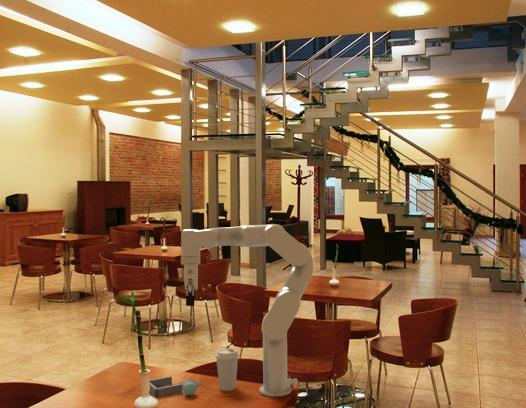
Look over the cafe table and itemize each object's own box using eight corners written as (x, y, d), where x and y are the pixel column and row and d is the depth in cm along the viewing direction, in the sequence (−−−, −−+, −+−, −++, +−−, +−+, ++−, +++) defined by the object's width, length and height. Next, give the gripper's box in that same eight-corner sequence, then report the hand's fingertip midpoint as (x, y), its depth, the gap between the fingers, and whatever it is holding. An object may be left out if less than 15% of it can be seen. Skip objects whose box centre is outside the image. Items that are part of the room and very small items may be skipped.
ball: (193, 392, 214) (192, 379, 214) (198, 395, 210) (198, 382, 210) (181, 394, 212) (181, 381, 212) (186, 398, 207) (186, 385, 207)
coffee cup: (238, 392, 213) (238, 354, 213) (214, 392, 213) (214, 354, 213) (239, 384, 223) (239, 347, 223) (216, 384, 223) (216, 348, 223)
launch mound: (199, 405, 232) (198, 372, 232) (213, 416, 220) (213, 381, 220) (168, 412, 225) (167, 378, 225) (181, 423, 213) (180, 387, 213)
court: (171, 383, 225) (170, 376, 225) (182, 391, 214) (182, 384, 214) (145, 388, 219) (145, 380, 219) (155, 397, 209) (155, 389, 209)
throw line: (166, 385, 223) (166, 385, 223) (175, 392, 214) (175, 392, 214) (164, 385, 222) (164, 385, 222) (173, 392, 214) (173, 392, 214)
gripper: (200, 262, 207) (199, 307, 207) (200, 258, 224) (200, 299, 224) (180, 262, 206) (179, 307, 206) (182, 258, 223) (181, 299, 223)
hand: (190, 303), depth 215 cm, fingers open, 9 cm apart
